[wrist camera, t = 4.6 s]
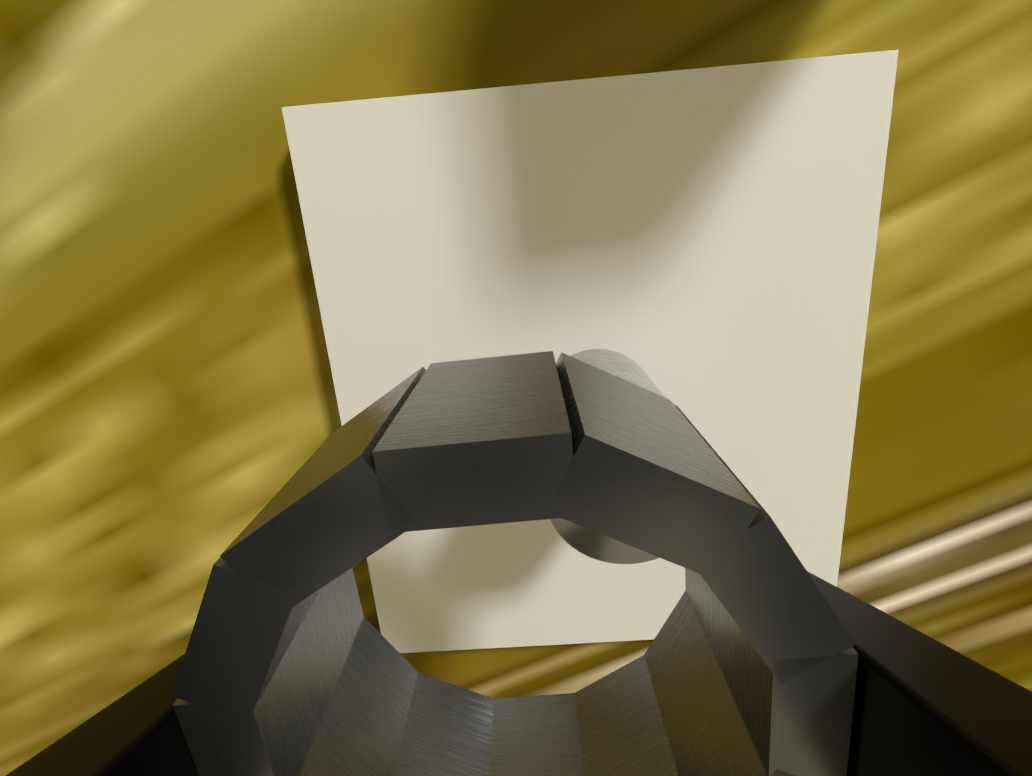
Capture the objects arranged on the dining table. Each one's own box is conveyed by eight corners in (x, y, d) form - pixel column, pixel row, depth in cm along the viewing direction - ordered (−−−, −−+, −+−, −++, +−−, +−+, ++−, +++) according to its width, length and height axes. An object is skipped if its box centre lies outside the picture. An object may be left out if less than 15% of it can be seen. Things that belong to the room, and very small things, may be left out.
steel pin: (654, 455, 17) (713, 559, 12) (541, 462, 17) (549, 568, 12) (654, 344, 16) (718, 404, 11) (533, 353, 16) (538, 417, 11)
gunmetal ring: (734, 717, 9) (830, 941, 6) (349, 745, 10) (272, 970, 7) (740, 331, 7) (883, 402, 4) (252, 381, 8) (86, 479, 5)
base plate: (809, 600, 20) (831, 629, 19) (394, 624, 21) (384, 654, 19) (862, 66, 15) (898, 49, 14) (303, 117, 16) (281, 107, 14)
